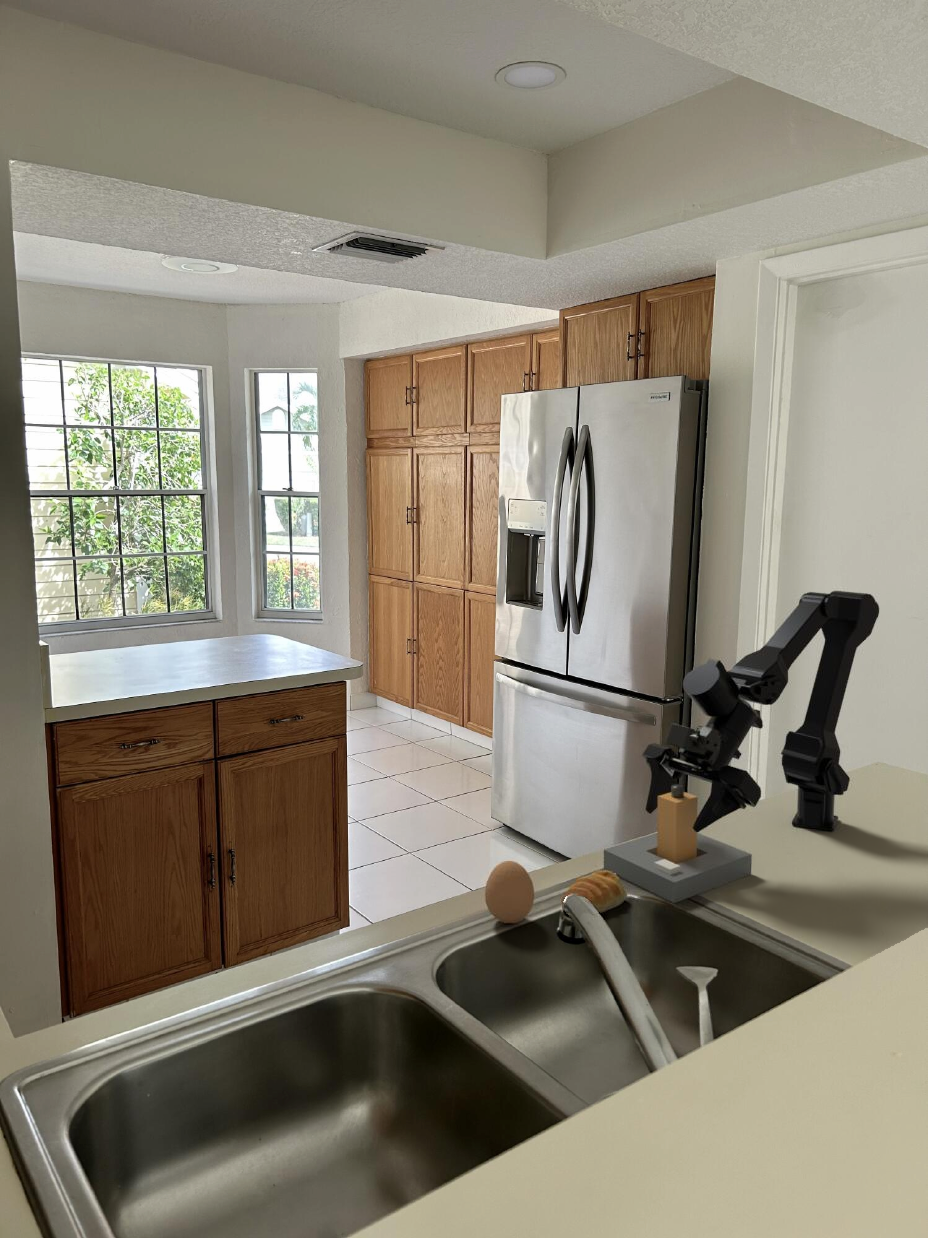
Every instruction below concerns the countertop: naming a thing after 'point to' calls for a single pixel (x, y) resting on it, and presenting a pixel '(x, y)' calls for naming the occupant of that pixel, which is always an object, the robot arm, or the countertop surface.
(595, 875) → the pastry
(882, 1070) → the countertop surface
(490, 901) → the egg
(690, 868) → the socket
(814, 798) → the robot arm
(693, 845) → the plug
